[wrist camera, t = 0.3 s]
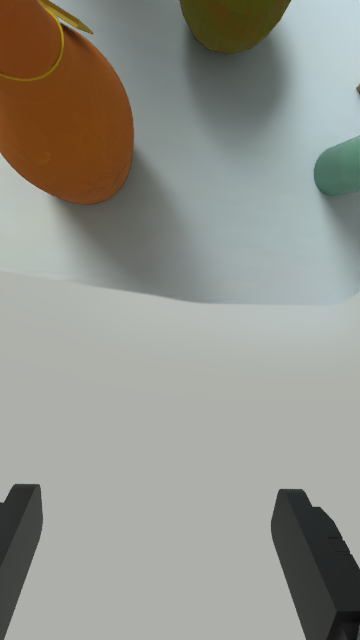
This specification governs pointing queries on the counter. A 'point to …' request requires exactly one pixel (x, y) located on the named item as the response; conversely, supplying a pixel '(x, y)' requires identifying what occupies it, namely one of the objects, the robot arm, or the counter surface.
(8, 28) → the wine bottle
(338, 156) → the green bottle
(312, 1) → the counter surface
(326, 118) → the counter surface
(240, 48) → the apple
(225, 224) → the counter surface
